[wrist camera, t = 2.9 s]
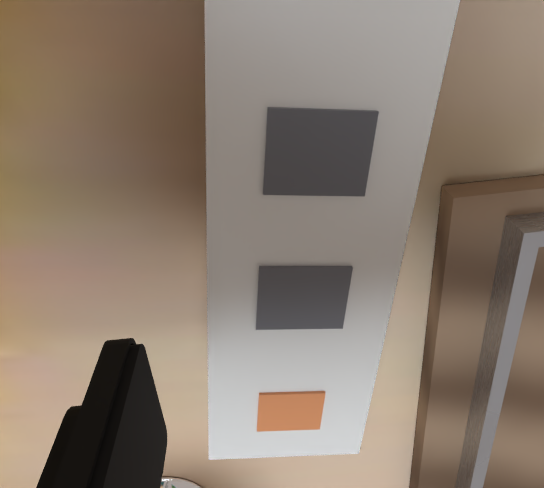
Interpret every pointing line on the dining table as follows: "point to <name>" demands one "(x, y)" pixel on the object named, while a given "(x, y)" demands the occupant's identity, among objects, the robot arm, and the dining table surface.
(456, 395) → the board
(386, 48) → the power strip
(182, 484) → the wineglass
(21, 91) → the dining table surface
